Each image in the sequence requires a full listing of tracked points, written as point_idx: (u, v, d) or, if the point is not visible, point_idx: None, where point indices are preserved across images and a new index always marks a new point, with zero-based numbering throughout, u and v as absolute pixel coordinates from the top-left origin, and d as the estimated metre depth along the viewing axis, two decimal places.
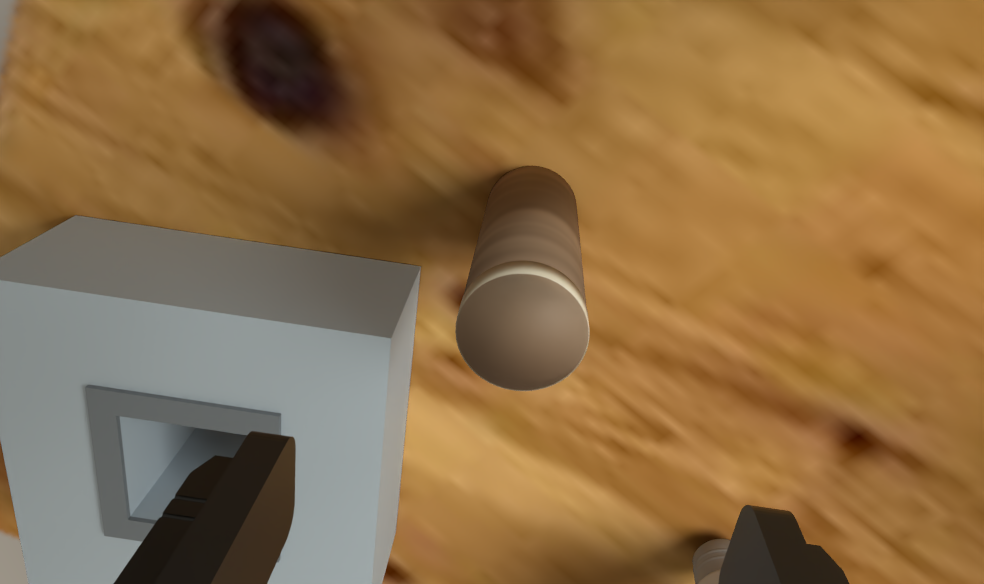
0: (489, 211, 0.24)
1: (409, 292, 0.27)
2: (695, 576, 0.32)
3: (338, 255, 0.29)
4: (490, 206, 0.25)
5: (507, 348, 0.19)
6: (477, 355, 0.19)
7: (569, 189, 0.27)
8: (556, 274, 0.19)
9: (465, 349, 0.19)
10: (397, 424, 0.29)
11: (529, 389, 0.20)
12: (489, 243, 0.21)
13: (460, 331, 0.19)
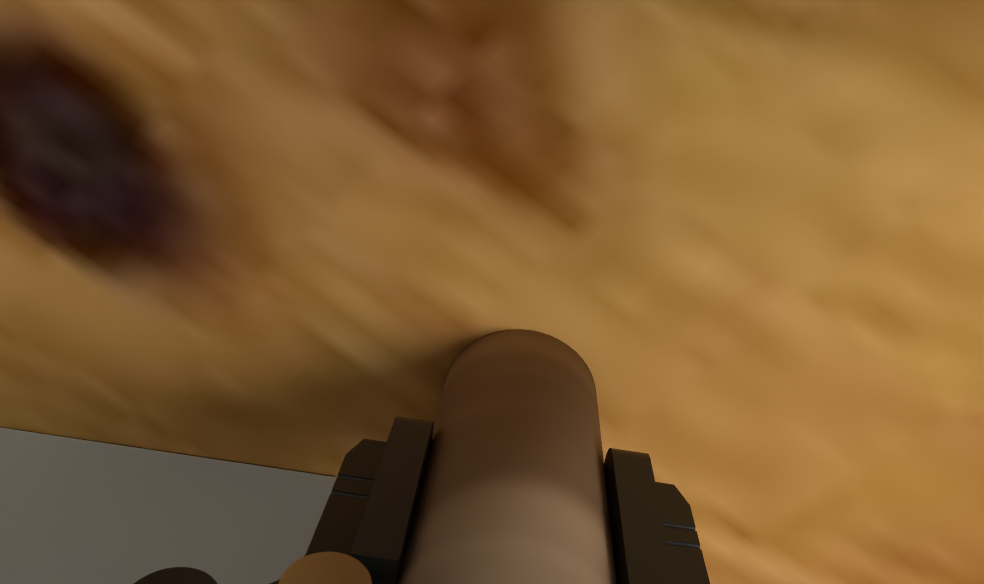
0: (437, 449, 0.13)
1: (305, 552, 0.15)
2: None
3: (199, 460, 0.18)
4: (440, 431, 0.13)
5: None
6: None
7: (584, 373, 0.15)
8: None
9: None
10: None
11: None
12: None
13: None
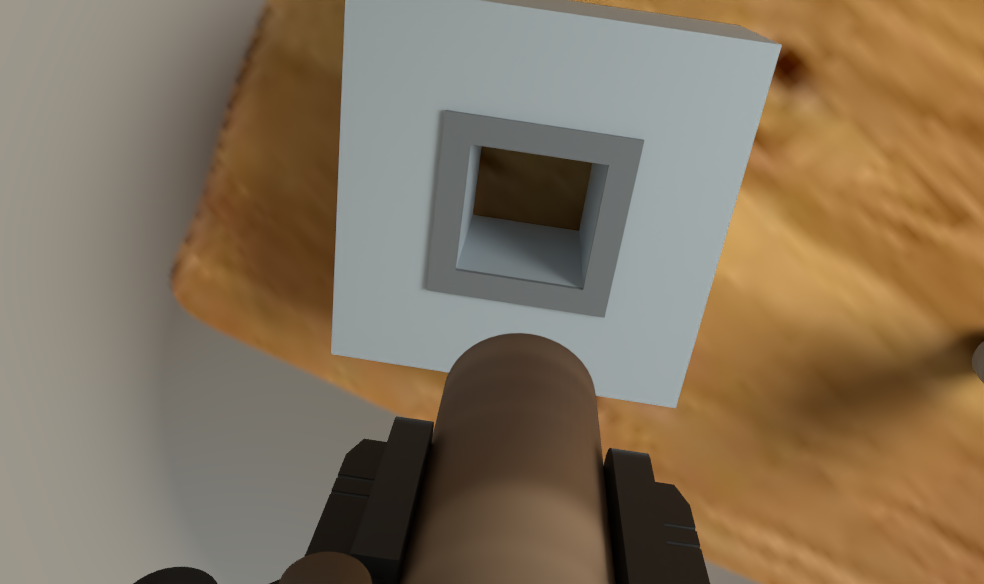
0: (437, 452, 0.13)
1: (753, 32, 0.26)
2: None
3: (656, 13, 0.29)
4: (440, 434, 0.14)
5: None
6: None
7: (584, 376, 0.15)
8: None
9: None
10: None
11: None
12: None
13: None
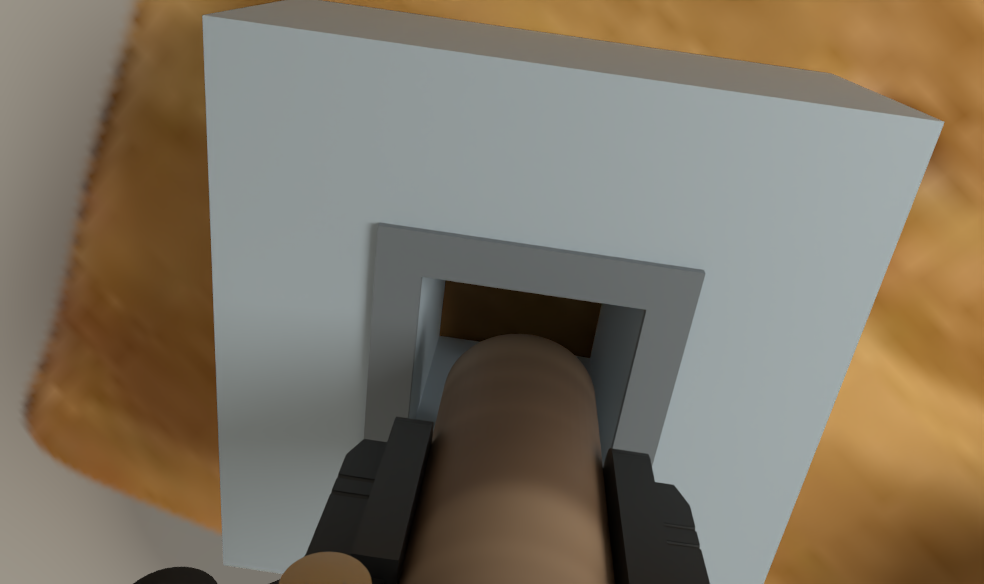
0: (436, 453, 0.13)
1: (867, 90, 0.17)
2: None
3: (707, 56, 0.19)
4: (440, 435, 0.14)
5: None
6: None
7: (583, 377, 0.15)
8: None
9: None
10: None
11: None
12: None
13: None
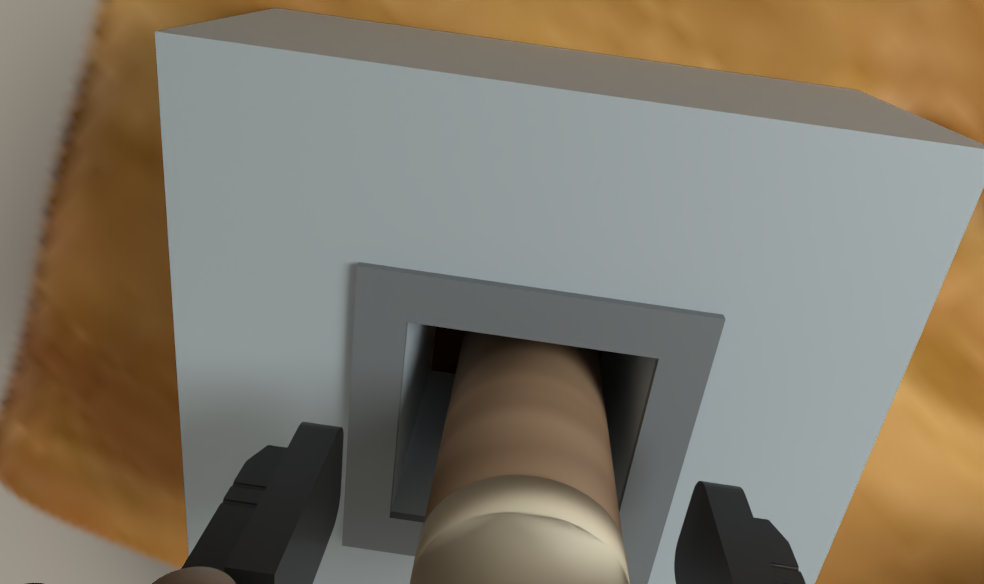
0: (470, 335, 0.17)
1: (901, 110, 0.15)
2: None
3: (722, 71, 0.17)
4: None
5: None
6: None
7: None
8: (576, 502, 0.11)
9: None
10: None
11: None
12: (467, 415, 0.14)
13: None
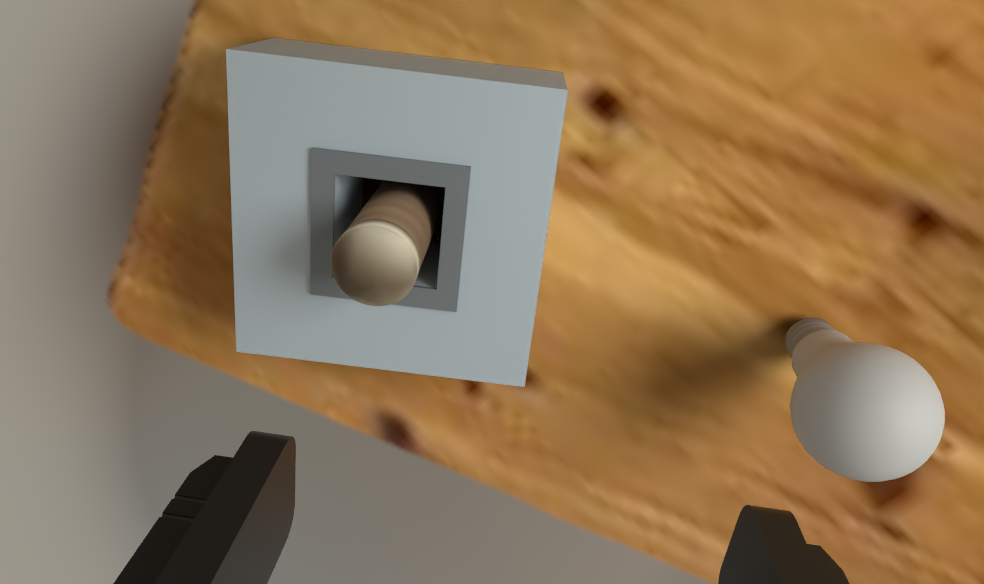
0: None
1: (563, 79, 0.33)
2: (791, 347, 0.38)
3: (494, 64, 0.35)
4: (374, 192, 0.35)
5: (365, 276, 0.29)
6: (347, 282, 0.29)
7: None
8: (394, 226, 0.29)
9: (338, 278, 0.29)
10: None
11: (383, 305, 0.30)
12: (360, 212, 0.31)
13: (334, 266, 0.29)
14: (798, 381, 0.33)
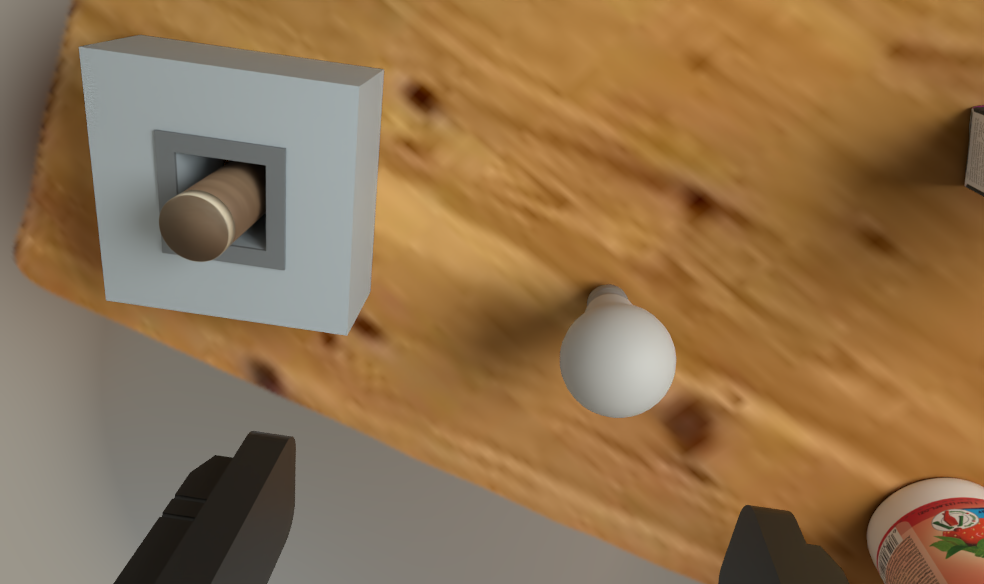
0: None
1: (374, 76, 0.39)
2: None
3: (325, 61, 0.41)
4: None
5: (187, 237, 0.36)
6: (173, 241, 0.36)
7: None
8: (209, 196, 0.35)
9: (166, 238, 0.36)
10: (367, 180, 0.41)
11: (204, 260, 0.36)
12: None
13: (161, 228, 0.36)
14: (566, 334, 0.40)
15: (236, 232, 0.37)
